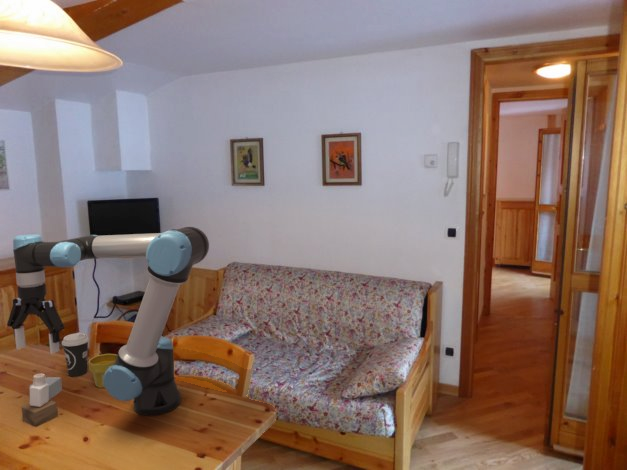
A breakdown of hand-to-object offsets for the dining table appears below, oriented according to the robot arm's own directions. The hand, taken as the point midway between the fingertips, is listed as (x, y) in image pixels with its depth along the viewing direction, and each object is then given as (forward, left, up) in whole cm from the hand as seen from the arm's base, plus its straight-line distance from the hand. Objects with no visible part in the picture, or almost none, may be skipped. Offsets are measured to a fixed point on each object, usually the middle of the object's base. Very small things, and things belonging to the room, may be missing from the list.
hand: (37, 350), depth 143 cm
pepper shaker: (0, +2, -18) cm, 18 cm away
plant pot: (-2, -24, -23) cm, 33 cm away
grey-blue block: (+12, -11, -23) cm, 28 cm away
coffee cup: (+15, -28, -23) cm, 39 cm away
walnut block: (-1, +2, -23) cm, 23 cm away
